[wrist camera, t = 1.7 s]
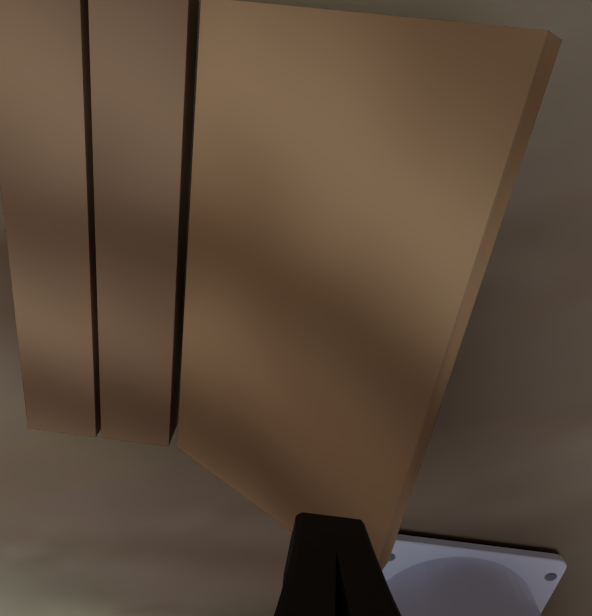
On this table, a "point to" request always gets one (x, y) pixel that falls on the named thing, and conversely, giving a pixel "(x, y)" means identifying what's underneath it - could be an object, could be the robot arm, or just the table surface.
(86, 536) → the table surface
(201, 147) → the board
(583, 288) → the table surface
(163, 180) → the laid row
